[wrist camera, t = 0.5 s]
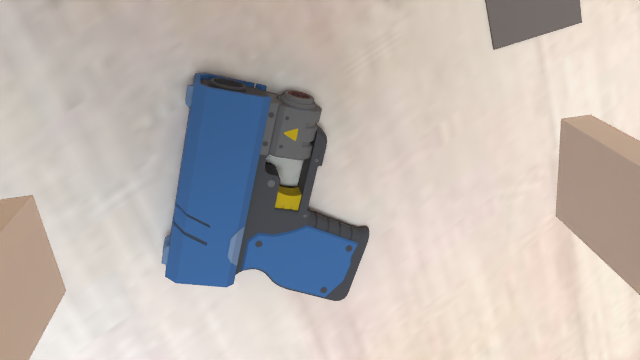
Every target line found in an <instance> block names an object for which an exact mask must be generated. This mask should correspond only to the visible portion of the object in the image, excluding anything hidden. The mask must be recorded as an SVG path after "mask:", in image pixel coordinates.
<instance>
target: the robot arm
mask: <svg viewBox="0 0 640 360" xmlns="http://www.w3.org/2000/svg"><path fill="white" fill-rule="evenodd" d="M556 217H557V218H558V219H559V220H561V221H562V222H563V223H564V224H565V225H566V226H567V227H568V228H569V229H570V230H571V231H572V232H573V233H574V234H575V235H576V236H578V237H579V238H580V239H581V240H582V241H583V242H584V243H585V244H586V245H587V246H588V247H589V248H590V249H591V250H592V251H594V252H595V253H596V254H597V255H598V256H599V257H600V258H601V259H602V260H603V261H604V262H605V263H606V264H607V265H608V266H610V267H611V268H612V269H613V270H614V271H615V272H616V273H617V274H618V275H619V276H620V277H621V278H622V279H623V280H624V281H625V282H627V283H628V284H629V285H630V286H631V287H632V288H633V289H634V290H635V291H636V292H637V293H638V294H639V295H640V141H639V140H637V139H635V138H633V137H631V136H629V135H628V134H626V133H624V132H622V131H620V130H618V129H616V128H615V127H613V126H611V125H609V124H607V123H605V122H603V121H601V120H600V119H598V118H596V117H594V116H592V115H585V116H578V117H571V118H564V119H561V131H560V149H559V167H558V184H557V202H556ZM65 292H66V289H65V286H64V283H63V280H62V277H61V274H60V272H59V269H58V266H57V263H56V260H55V257H54V254H53V251H52V249H51V246H50V243H49V240H48V237H47V234H46V231H45V229H44V226H43V223H42V220H41V217H40V214H39V211H38V209H37V206H36V203H35V200H34V197H33V195H30V196H23V197H16V198H9V199H2V200H0V360H29V358H30V356H31V355H32V353H33V351H34V349H35V347H36V345H37V343H38V342H39V340H40V338H41V336H42V334H43V332H44V331H45V329H46V327H47V325H48V323H49V321H50V319H51V318H52V316H53V314H54V312H55V310H56V308H57V306H58V305H59V303H60V301H61V299H62V297H63V295H64V293H65Z"/></svg>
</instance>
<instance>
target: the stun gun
mask: <svg viewBox="0 0 640 360" xmlns="http://www.w3.org/2000/svg"><path fill="white" fill-rule="evenodd" d="M254 84H255V83H251V82H246V81H241V80H236V79H231V78H226V77H221V76H217V75H212V74H207V73H203V74H195V77H194V83H193V85H188V87H187V94H186V105H187V106H188V107H189V108H190V109H189V116H188V122H187V129H186V135H185V142H184V148H183V155H182V161H181V168H180V175H179V181H178V188H177V195H176V201H175V209H174V215H173V222H172V228H171V235H170V236H167V237H166V238H165V240H164V247H163V256H162V264H166V273H165V277H167V278H169V279H170V280H172V281H173V282H175V283H181V284H193V285H205V286H217V287H228V286H230V285H232V284H234V279H235V275H236V274H238V273H239V272H241V271H243V270H247V269H257V270H260V271H262V272H264V273H265V274H266V275H267V276H268V277H269V278H270V279H271V280H272V281H273V282H274V283H275V284H277V285H278V286H280V287H283V288H285V289H289V290H293V291H297V292H301V293H305V294H309V295H313V296H317V297H321V298H325V299H329V300H333V301H340V300H342V299H344V298H345V297H346V296H347V294H348V292H349V289H350V287H351V284H352V281H353V279H354V276H355V274H356V271H357V268H358V266H359V263H360V261H361V258H362V255H363V253H364V250H365V248H366V245H367V242H368V238H369V229H368V227H367V226H366V227H360V228H357V227H354V226H351V225H350V226H349V225H348V224H345V223H343V222H340V221H339V222H338V221H337V220H334V219H331V218H329V217H327V218H326V217H325V216H323V215H320V214H317V213H314V212H312V211H309V208H308V204H309V200H310V196H311V192H312V188H313V183H314V179H315V175H316V171H317V167H318V166H322V162H323V158H324V154H325V149H326V143H327V137H326V135H325V133H324V132H323V130H322V129H321V128H320V127H318V126H317V124H316V123H317V122H318V121H319V119H320V114H321V110H322V109H321V108H320V107H319V106H318V105H316V104H315V102H314V99H313V97H312V96H310V95H308V94H306V93H302V92H298V91H286V92H284V94H283V95H281V96H277V95H276V94H274V93H269V92H266V86H265V85H261V84H256V88H254ZM269 154H271V155H273V156H276V157H282V158H288V159H295V160H304V163H303V167H302V171H301V175H300V179H299V183H298V187H296V188H285V187H281V186H279V185H280V178H279V175H278V172H277V169H276V167H275V166H274V165H271V164H267V163H266V158H267V155H269Z"/></svg>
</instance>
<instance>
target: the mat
mask: <svg viewBox="0 0 640 360" xmlns="http://www.w3.org/2000/svg"><path fill="white" fill-rule="evenodd" d="M485 1H486V7H487V13H488V19H489V25H490V31H491V37H492V43H493V49H494V50H495V49H498V48H501V47H504V46H508V45H511V44H514V43H517V42H520V41H524V40H527V39H530V38H533V37H537V36H540V35H543V34H546V33H549V32H553V31H556V30H559V29H562V28H565V27H569V26H572V25H575V24H578V23H582V19H581V9H580V0H485Z"/></svg>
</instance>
